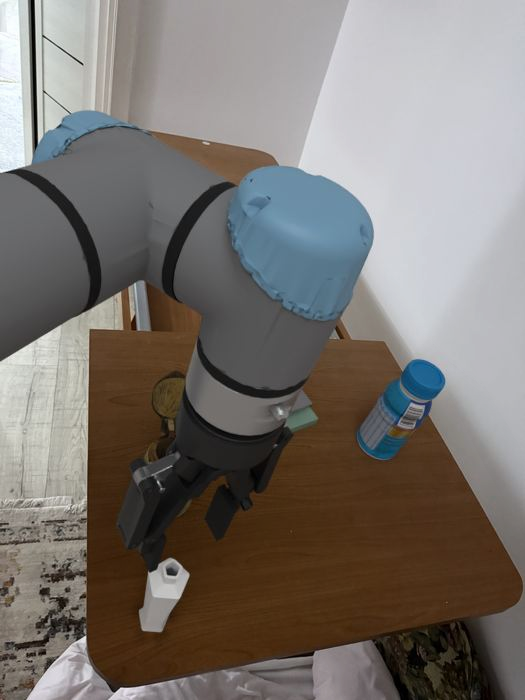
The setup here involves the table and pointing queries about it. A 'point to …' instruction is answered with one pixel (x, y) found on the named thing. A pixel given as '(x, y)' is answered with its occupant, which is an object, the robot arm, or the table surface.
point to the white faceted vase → (162, 594)
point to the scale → (301, 419)
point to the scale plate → (301, 402)
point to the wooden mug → (166, 415)
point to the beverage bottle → (400, 409)
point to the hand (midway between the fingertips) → (181, 542)
